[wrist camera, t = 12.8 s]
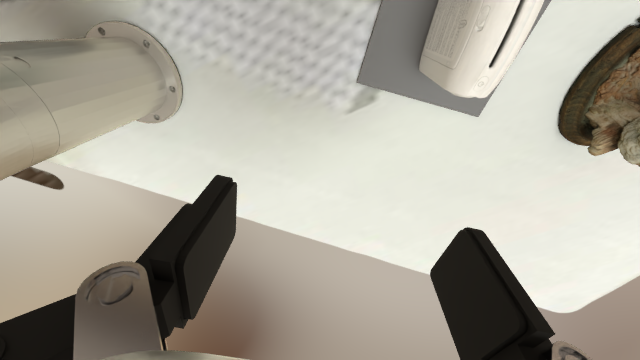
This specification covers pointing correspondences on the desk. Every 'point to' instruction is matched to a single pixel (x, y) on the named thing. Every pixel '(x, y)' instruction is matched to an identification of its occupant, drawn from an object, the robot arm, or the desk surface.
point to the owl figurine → (607, 100)
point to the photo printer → (475, 43)
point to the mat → (411, 56)
